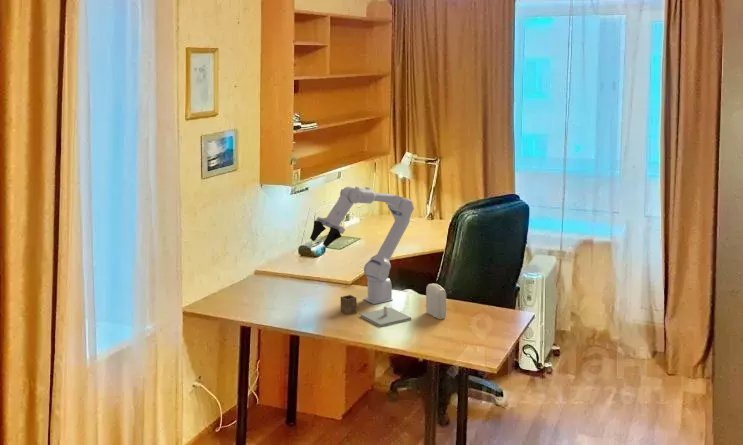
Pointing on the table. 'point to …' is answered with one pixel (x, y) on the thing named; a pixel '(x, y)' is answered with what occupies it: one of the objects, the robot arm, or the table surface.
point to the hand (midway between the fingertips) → (318, 242)
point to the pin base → (385, 317)
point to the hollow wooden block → (348, 304)
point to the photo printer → (436, 301)
